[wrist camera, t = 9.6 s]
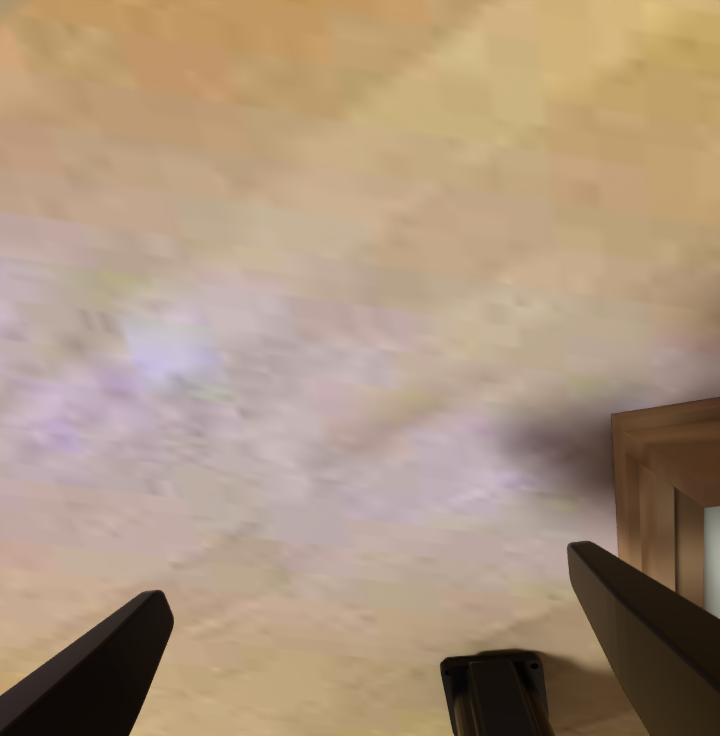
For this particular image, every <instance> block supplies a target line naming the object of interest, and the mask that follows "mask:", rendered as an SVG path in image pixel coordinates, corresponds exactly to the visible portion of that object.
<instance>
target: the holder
mask: <svg viewBox="0 0 720 736" xmlns="http://www.w3.org/2000/svg"><path fill="white" fill-rule="evenodd" d="M611 421H612V440H613V459H614V478H615V497H616V516H617V535H618V554H619V558H620V559H621V560H623V561H625V562H626V563H628V564H630V565H631V566H633V567H635V568H636V569H638V570H640V571H641V572H643V573H645V574H646V575H648V576H650V577H651V578H653V579H655V580H656V581H658V582H660V583H661V584H663V585H665V586H666V587H668V588H670V589H671V590H673V591H674V592H676V593H678V594H679V595H681V596H683V597H684V598H686V599H688V600H689V601H691V602H693V603H694V604H696V605H698V606H699V607H701V608H703V562H704V508H709V507H717V506H720V397H718V398H712V399H705V400H699V401H693V402H686V403H680V404H673V405H667V406H661V407H654V408H648V409H642V410H635V411H629V412H622V413H616V414H611Z"/></svg>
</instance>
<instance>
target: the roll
mask: <svg viewBox="0 0 720 736" xmlns="http://www.w3.org/2000/svg"><path fill="white" fill-rule="evenodd" d="M703 609H704V610H706V611H708V612H709V613H711V614H713V615H714V616H716V617H718V618H719V619H720V506H717V507H709V508H704V562H703Z"/></svg>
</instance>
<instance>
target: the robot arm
mask: <svg viewBox="0 0 720 736" xmlns="http://www.w3.org/2000/svg"><path fill="white" fill-rule="evenodd" d="M567 554H568V566H569V576H570V581H571V584H572V587H573V589H574V592H575V594H576V596H577V598H578V600H579V602H580V604H581V606H582V608H583V610H584V612H585V614H586V616H587V618H588V620H589V622H590V624H591V626H592V628H593V630H594V632H595V635H596V637H597V639H598V641H599V643H600V645H601V647H602V649H603V651H604V653H605V655H606V657H607V659H608V661H609V663H610V665H611V667H612V669H613V671H614V673H615V675H616V677H617V679H618V681H619V683H620V685H621V686H622V688H623V690H624V692H625V694H626V695H627V697H628V699H629V701H630V702H631V704H632V706H633V707H634V709H635V711H636V712H637V714H638V716H639V717H640V719H641V721H642V722H643V724H644V726H645V727H646V729H647V731H648V733H649V734H650V736H720V619H719V618H718V617H716V616H714V615H713V614H711V613H709V612H708V611H706V610H704V609H703V608H701V607H699V606H698V605H696V604H694V603H693V602H691V601H689V600H688V599H686V598H684V597H683V596H681V595H679V594H678V593H676V592H674V591H673V590H671V589H670V588H668V587H666V586H665V585H663V584H661V583H660V582H658V581H656V580H655V579H653V578H651V577H650V576H648V575H646V574H645V573H643V572H641V571H640V570H638V569H636V568H635V567H633V566H631V565H630V564H628V563H626V562H625V561H623V560H621V559H620V558H618V557H616V556H615V555H613V554H611V553H610V552H608V551H606V550H605V549H603V548H601V547H600V546H598V545H596V544H595V543H593V542H590V541H580V542H571V543H569V544H568V546H567ZM173 625H174V617H173V614H172V611H171V609H170V606H169V604H168V601H167V599H166V597H165V594H164V593H163V592H162V591H161V590H152V591H145V592H142V593H140V594H139V595H138V596H136V597H135V598H133V599H132V600H131V601H129V602H128V603H127V604H125V605H124V606H123V607H121V608H120V609H118V610H117V611H116V612H114V613H113V614H112V615H110V616H109V617H107V618H106V619H105V620H103V621H102V622H101V623H99V624H98V625H97V626H95V627H94V628H92V629H91V630H90V631H88V632H87V633H86V634H84V635H83V636H81V637H80V638H79V639H77V640H76V641H75V642H73V643H72V644H71V645H69V646H68V647H66V648H65V649H64V650H62V651H61V652H60V653H58V654H57V655H55V656H54V657H53V658H51V659H50V660H49V661H47V662H46V663H45V664H43V665H42V666H40V667H39V668H38V669H36V670H35V671H34V672H32V673H31V674H29V675H28V676H27V677H25V678H24V679H23V680H21V681H20V682H19V683H17V684H16V685H14V686H13V687H12V688H10V689H9V690H8V691H6V692H5V693H3V694H2V695H1V696H0V736H129V735H130V732H131V730H132V728H133V726H134V724H135V722H136V719H137V717H138V715H139V713H140V710H141V708H142V705H143V703H144V700H145V698H146V695H147V693H148V690H149V688H150V685H151V683H152V680H153V678H154V675H155V673H156V670H157V668H158V665H159V663H160V660H161V658H162V655H163V652H164V650H165V647H166V645H167V642H168V640H169V637H170V635H171V632H172V629H173ZM440 670H441V676H442V681H443V686H444V691H445V696H446V701H447V705H448V710H449V715H450V720H451V725H452V730H453V734H454V735H455V736H555V735H554V732H553V729H552V727H551V724H550V721H549V716H548V707H547V699H546V691H545V682H544V674H543V666H542V663H541V661H540V658H539V656H538V655H536V654H520V655H507V656H494V657H482V658H469V659H456V660H445V661H443V662H441V664H440Z"/></svg>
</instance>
